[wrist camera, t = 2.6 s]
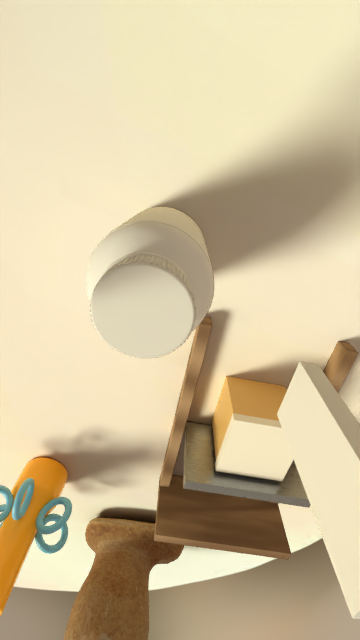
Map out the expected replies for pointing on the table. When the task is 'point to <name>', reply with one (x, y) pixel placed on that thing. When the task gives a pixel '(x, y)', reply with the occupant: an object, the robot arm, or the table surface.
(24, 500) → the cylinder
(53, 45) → the table surface
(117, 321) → the pill bottle
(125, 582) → the brown felt boot
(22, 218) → the table surface
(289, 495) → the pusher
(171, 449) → the lane
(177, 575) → the table surface
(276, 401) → the cream cube
